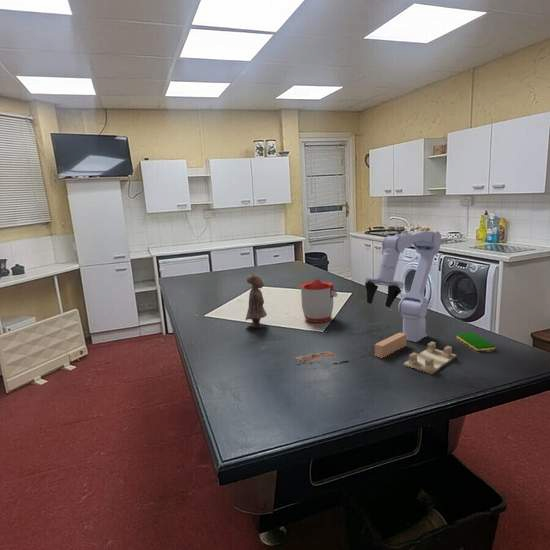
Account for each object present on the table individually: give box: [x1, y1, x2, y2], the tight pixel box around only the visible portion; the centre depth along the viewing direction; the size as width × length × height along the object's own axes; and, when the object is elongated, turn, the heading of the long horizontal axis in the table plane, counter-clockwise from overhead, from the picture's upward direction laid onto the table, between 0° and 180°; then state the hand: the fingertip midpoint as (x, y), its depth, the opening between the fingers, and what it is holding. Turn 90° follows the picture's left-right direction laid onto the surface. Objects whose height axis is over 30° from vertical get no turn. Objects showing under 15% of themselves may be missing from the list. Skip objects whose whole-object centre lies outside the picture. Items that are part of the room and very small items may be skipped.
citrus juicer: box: [299, 278, 338, 323], centre depth 184 cm, size 16×17×20 cm
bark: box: [294, 351, 339, 365], centre depth 141 cm, size 22×12×1 cm, turn 111°
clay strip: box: [374, 332, 407, 359], centre depth 146 cm, size 16×3×5 cm, turn 130°
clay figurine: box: [245, 273, 268, 329], centre depth 178 cm, size 13×10×25 cm
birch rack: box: [403, 341, 457, 375], centre depth 135 cm, size 18×10×4 cm, turn 132°
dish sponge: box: [456, 332, 496, 351], centre depth 148 cm, size 7×14×2 cm, turn 5°
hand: (378, 305), depth 137 cm, fingers open, 7 cm apart
